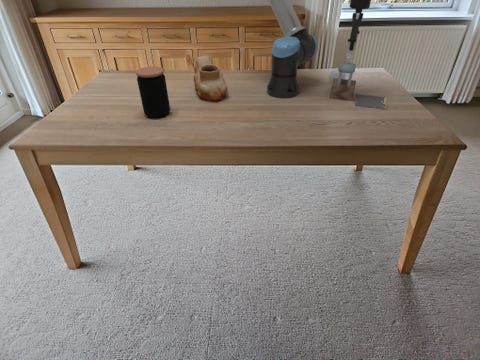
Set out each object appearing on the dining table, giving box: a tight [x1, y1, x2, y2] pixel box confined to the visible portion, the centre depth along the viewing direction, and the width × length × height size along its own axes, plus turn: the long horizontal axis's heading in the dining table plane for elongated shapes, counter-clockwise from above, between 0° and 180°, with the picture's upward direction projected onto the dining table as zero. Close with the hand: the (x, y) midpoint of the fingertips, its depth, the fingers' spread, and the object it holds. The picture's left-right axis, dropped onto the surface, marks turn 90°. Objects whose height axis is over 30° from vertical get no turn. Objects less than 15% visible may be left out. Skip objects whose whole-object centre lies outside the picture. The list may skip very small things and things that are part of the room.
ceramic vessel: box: [193, 55, 228, 103], centre depth 143 cm, size 14×26×15 cm, turn 18°
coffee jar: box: [135, 65, 171, 120], centre depth 123 cm, size 11×11×18 cm
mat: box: [354, 93, 388, 109], centre depth 136 cm, size 13×13×1 cm
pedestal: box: [329, 78, 357, 102], centre depth 140 cm, size 10×10×6 cm
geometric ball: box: [328, 67, 347, 84], centre depth 153 cm, size 8×8×8 cm
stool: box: [337, 62, 357, 86], centre depth 136 cm, size 7×7×8 cm
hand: (350, 54), depth 131 cm, fingers open, 13 cm apart
